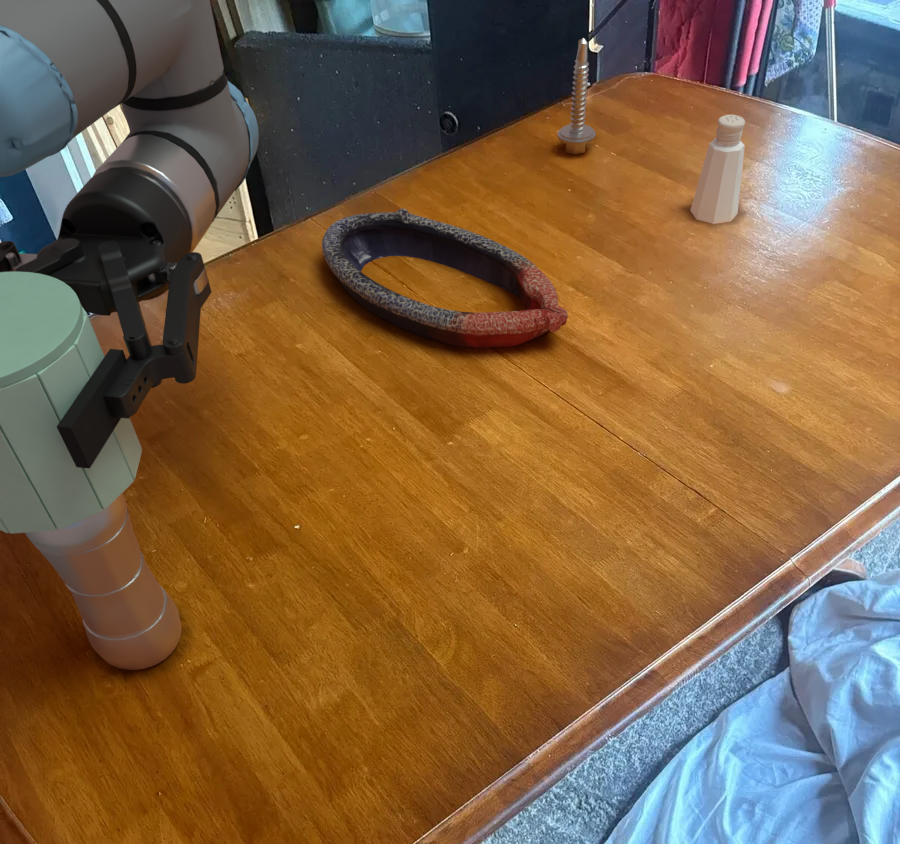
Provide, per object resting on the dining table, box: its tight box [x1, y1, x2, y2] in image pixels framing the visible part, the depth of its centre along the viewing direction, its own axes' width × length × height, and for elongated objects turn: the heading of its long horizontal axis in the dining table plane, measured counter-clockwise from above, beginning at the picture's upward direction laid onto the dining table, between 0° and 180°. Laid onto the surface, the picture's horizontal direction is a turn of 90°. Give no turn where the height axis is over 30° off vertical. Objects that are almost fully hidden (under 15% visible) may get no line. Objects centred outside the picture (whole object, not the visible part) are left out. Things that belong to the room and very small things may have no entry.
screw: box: [557, 37, 597, 156], centre depth 110 cm, size 13×5×5 cm
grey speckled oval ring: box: [321, 208, 569, 349], centre depth 92 cm, size 16×31×5 cm, turn 47°
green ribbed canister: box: [0, 272, 143, 535], centre depth 49 cm, size 10×10×10 cm
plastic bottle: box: [24, 492, 182, 671], centre depth 59 cm, size 6×7×20 cm
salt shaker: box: [690, 114, 746, 225], centre depth 99 cm, size 5×5×11 cm
